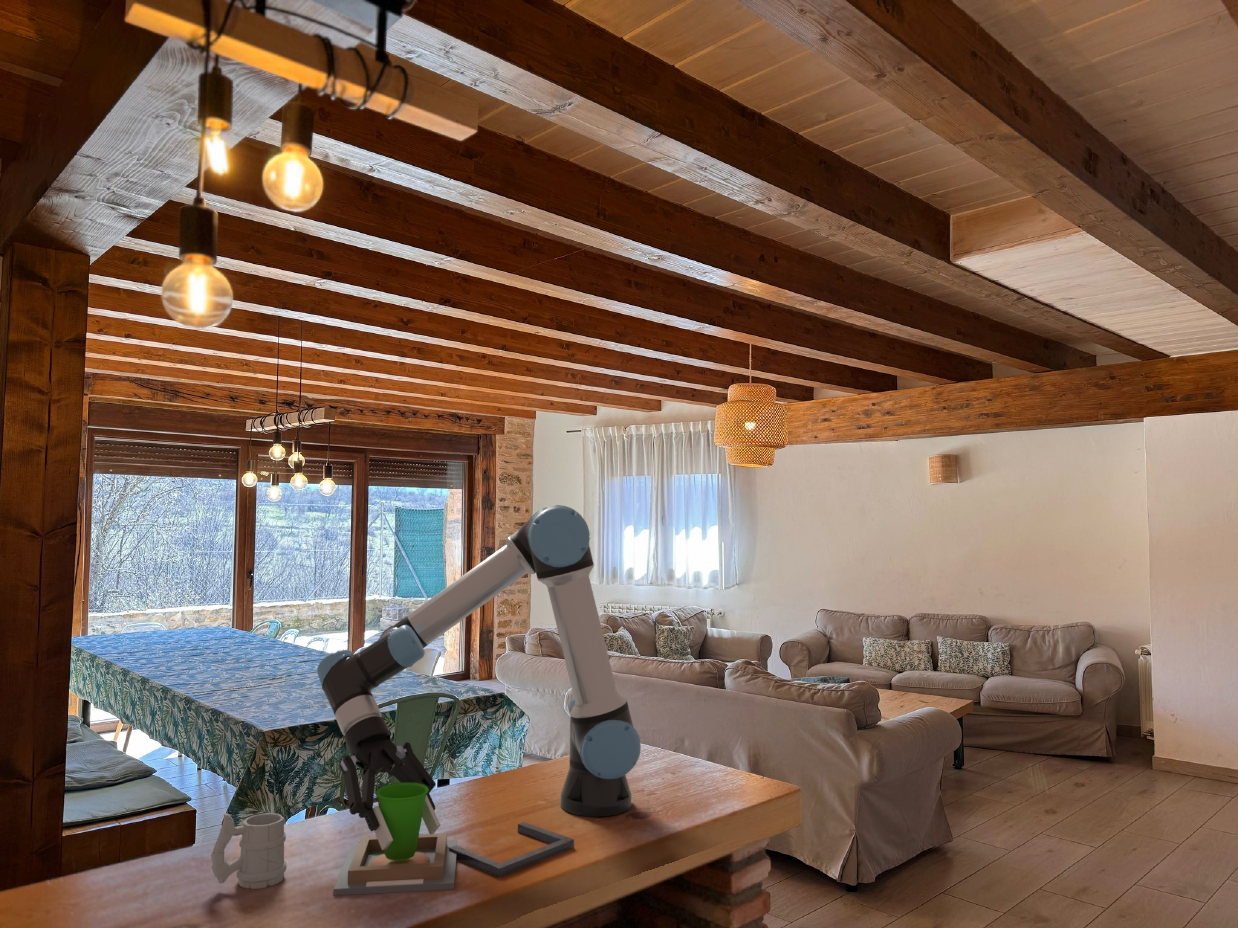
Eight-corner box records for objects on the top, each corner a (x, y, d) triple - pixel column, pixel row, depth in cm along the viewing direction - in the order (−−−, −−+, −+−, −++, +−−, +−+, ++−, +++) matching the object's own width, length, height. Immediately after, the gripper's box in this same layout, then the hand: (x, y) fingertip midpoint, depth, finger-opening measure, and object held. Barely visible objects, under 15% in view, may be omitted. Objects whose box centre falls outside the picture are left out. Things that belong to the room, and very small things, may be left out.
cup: (413, 867, 142) (415, 800, 143) (363, 862, 144) (365, 795, 145) (435, 847, 151) (437, 784, 152) (388, 842, 153) (390, 780, 154)
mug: (293, 881, 142) (295, 807, 142) (217, 901, 134) (220, 822, 135) (277, 866, 147) (279, 795, 148) (203, 884, 140) (206, 809, 141)
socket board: (457, 845, 158) (457, 828, 158) (453, 889, 139) (454, 870, 140) (351, 850, 155) (351, 833, 155) (333, 895, 137) (333, 875, 137)
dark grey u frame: (573, 847, 158) (574, 839, 158) (499, 877, 144) (499, 868, 144) (523, 829, 167) (523, 821, 167) (448, 855, 153) (449, 847, 153)
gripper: (404, 728, 167) (452, 832, 155) (300, 750, 151) (346, 867, 139) (421, 705, 164) (472, 809, 152) (316, 724, 147) (365, 842, 136)
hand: (412, 837), depth 146 cm, fingers closed on cup, 9 cm apart
